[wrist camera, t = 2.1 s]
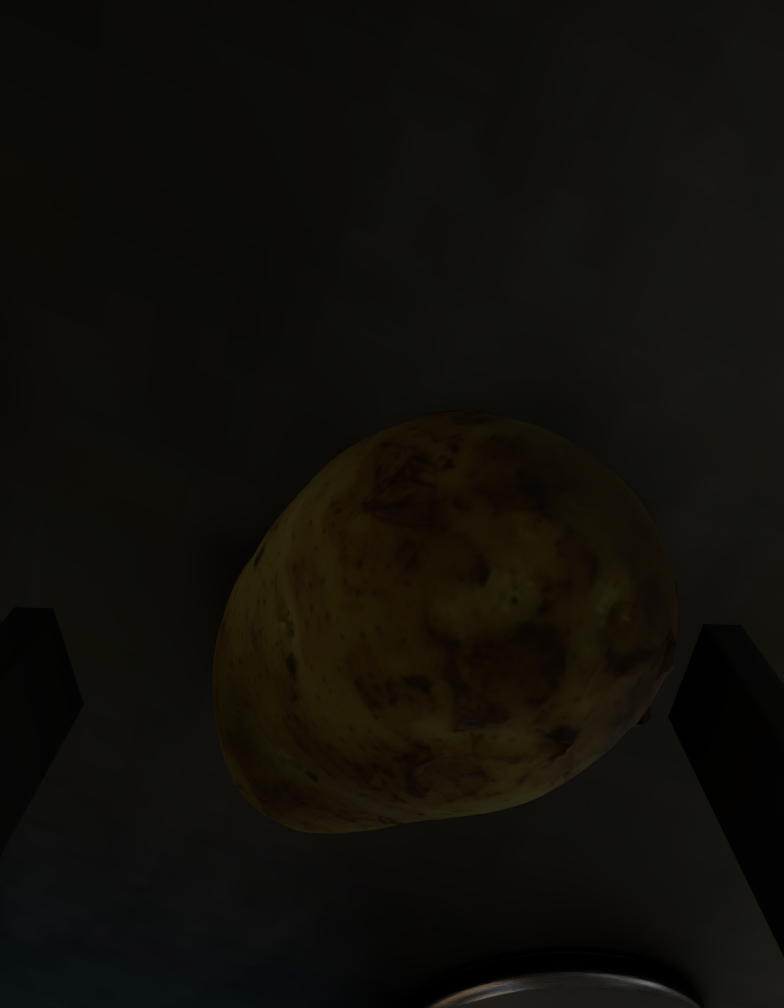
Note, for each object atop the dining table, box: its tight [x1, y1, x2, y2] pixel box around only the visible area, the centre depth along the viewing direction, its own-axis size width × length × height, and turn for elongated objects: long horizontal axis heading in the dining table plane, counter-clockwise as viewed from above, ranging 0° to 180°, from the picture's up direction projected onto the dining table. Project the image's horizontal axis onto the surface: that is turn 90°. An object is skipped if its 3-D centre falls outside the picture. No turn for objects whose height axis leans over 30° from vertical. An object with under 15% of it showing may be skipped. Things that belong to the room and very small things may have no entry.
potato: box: [212, 410, 678, 834], centre depth 13 cm, size 8×13×8 cm, turn 132°
